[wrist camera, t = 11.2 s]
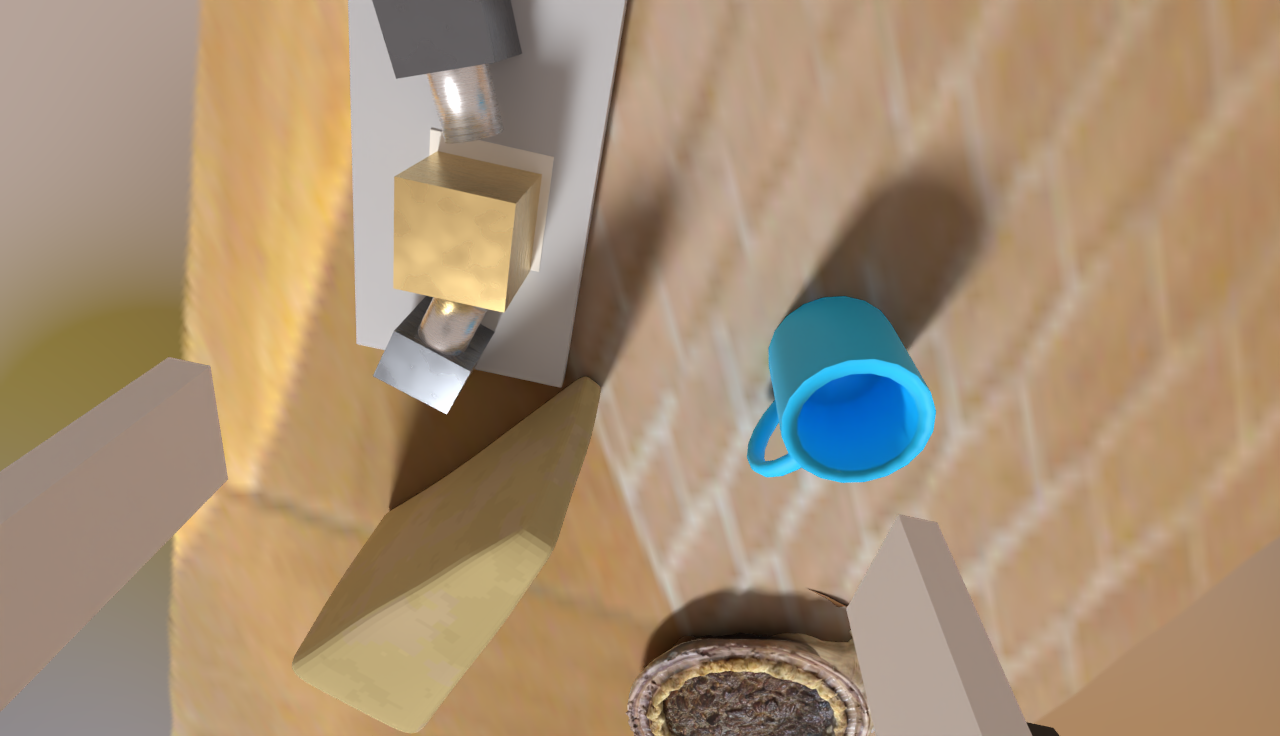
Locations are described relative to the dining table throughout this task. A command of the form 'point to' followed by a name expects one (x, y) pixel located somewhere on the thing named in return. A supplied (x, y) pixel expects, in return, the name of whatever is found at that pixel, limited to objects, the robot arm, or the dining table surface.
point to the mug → (842, 395)
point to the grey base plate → (532, 141)
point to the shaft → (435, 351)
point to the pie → (752, 688)
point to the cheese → (449, 569)
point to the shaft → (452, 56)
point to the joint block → (464, 229)
